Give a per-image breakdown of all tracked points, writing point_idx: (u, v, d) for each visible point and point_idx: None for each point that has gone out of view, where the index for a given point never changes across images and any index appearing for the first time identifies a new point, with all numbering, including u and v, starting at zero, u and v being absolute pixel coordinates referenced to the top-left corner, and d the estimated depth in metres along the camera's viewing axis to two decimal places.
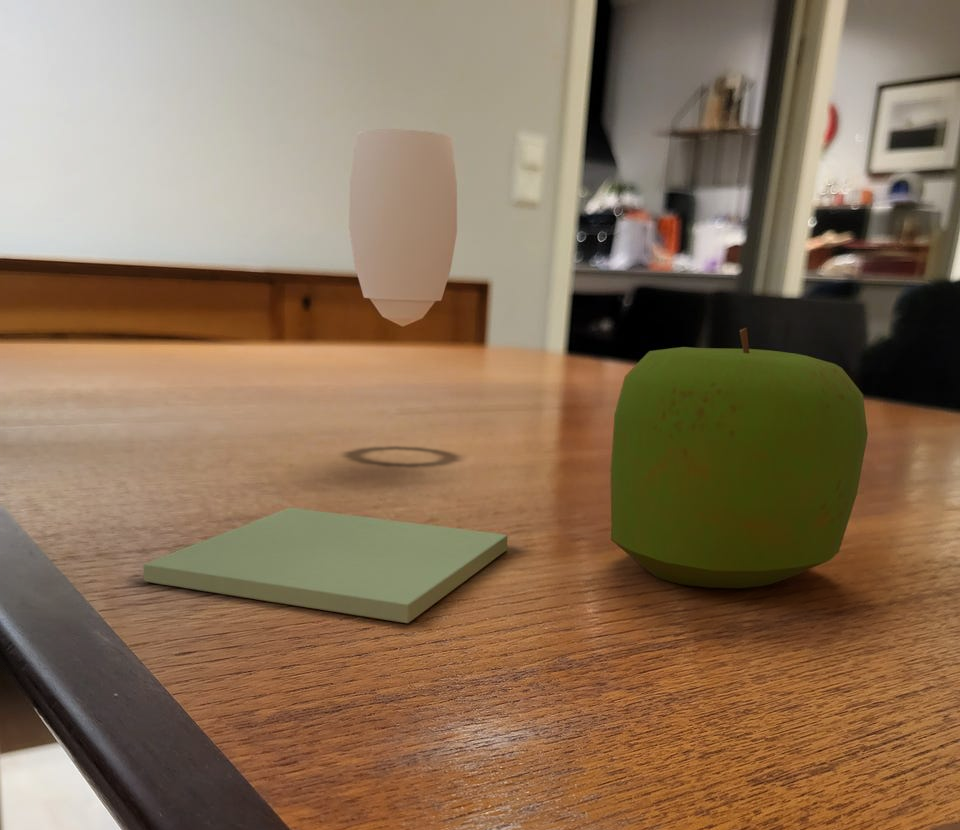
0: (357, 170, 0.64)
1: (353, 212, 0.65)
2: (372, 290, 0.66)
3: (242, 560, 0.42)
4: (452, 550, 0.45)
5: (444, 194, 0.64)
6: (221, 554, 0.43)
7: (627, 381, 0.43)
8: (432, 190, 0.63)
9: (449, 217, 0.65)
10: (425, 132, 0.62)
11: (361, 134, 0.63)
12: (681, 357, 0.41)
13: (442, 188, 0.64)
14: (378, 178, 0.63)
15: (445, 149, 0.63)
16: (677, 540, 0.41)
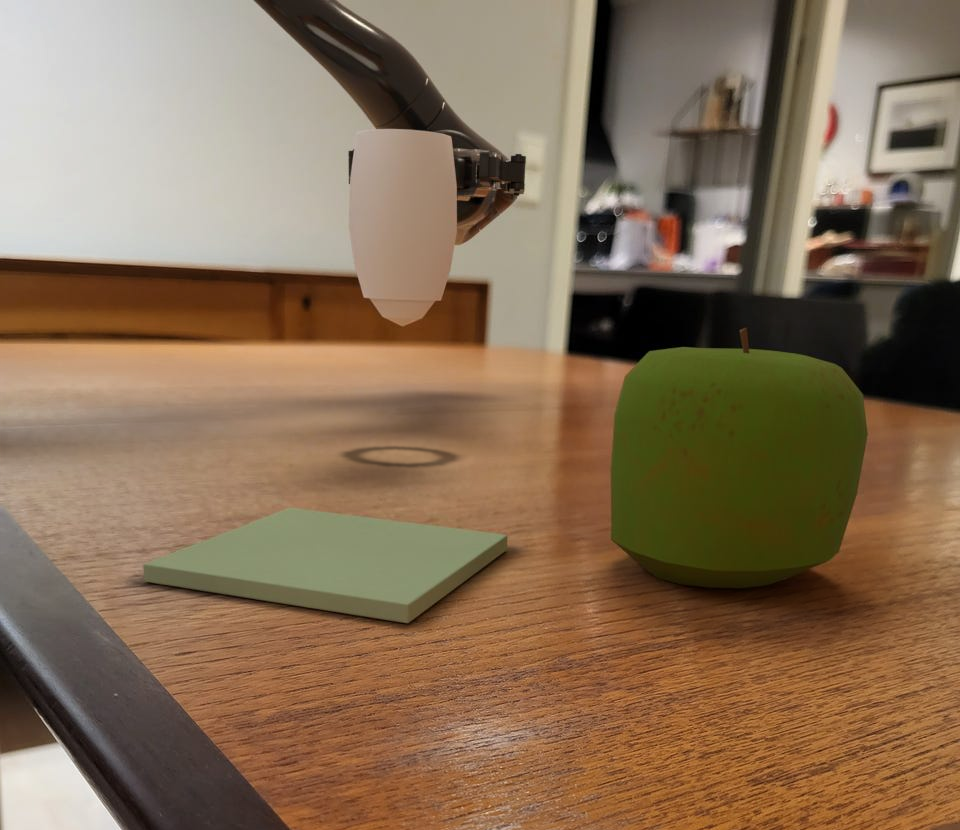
0: (357, 170, 0.64)
1: (353, 212, 0.65)
2: (372, 290, 0.66)
3: (242, 560, 0.42)
4: (452, 550, 0.45)
5: (444, 194, 0.64)
6: (221, 554, 0.43)
7: (627, 381, 0.43)
8: (432, 190, 0.63)
9: (449, 217, 0.65)
10: (425, 132, 0.62)
11: (361, 134, 0.63)
12: (681, 357, 0.41)
13: (442, 188, 0.64)
14: (378, 178, 0.63)
15: (445, 149, 0.63)
16: (677, 540, 0.41)
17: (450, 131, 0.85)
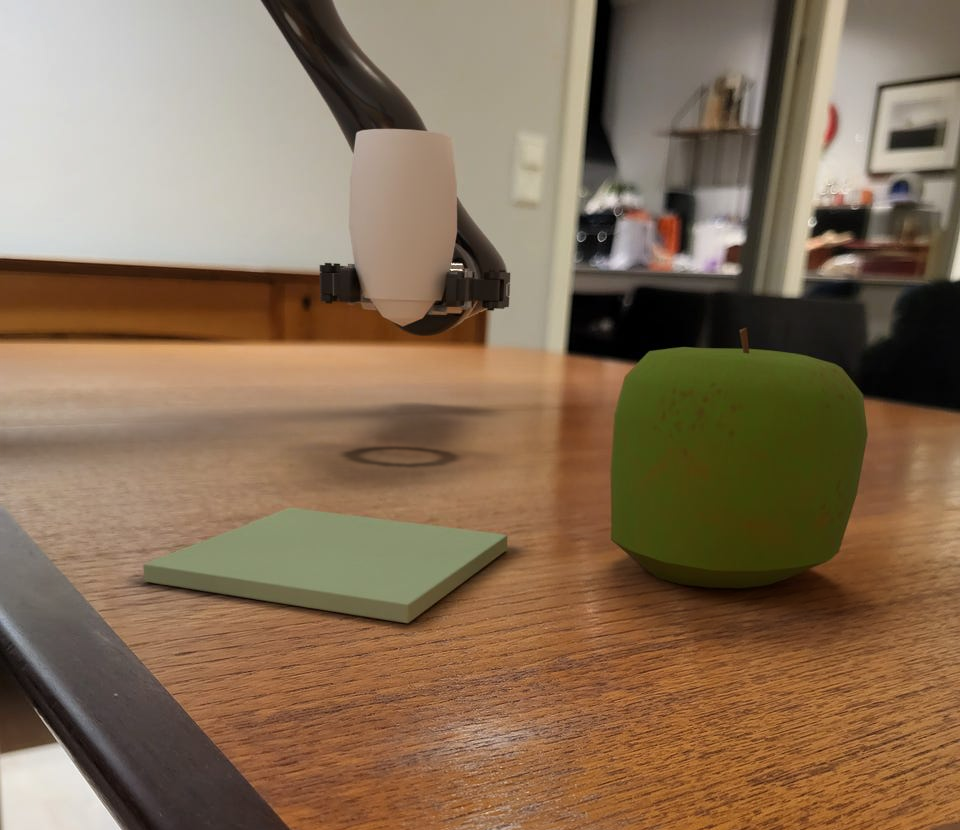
0: (357, 170, 0.64)
1: (353, 212, 0.65)
2: (372, 290, 0.66)
3: (242, 560, 0.42)
4: (452, 550, 0.45)
5: (444, 194, 0.64)
6: (221, 554, 0.43)
7: (627, 381, 0.43)
8: (432, 190, 0.63)
9: (449, 217, 0.65)
10: (425, 132, 0.62)
11: (361, 134, 0.63)
12: (681, 357, 0.41)
13: (442, 188, 0.64)
14: (378, 178, 0.63)
15: (445, 149, 0.63)
16: (677, 540, 0.41)
17: None
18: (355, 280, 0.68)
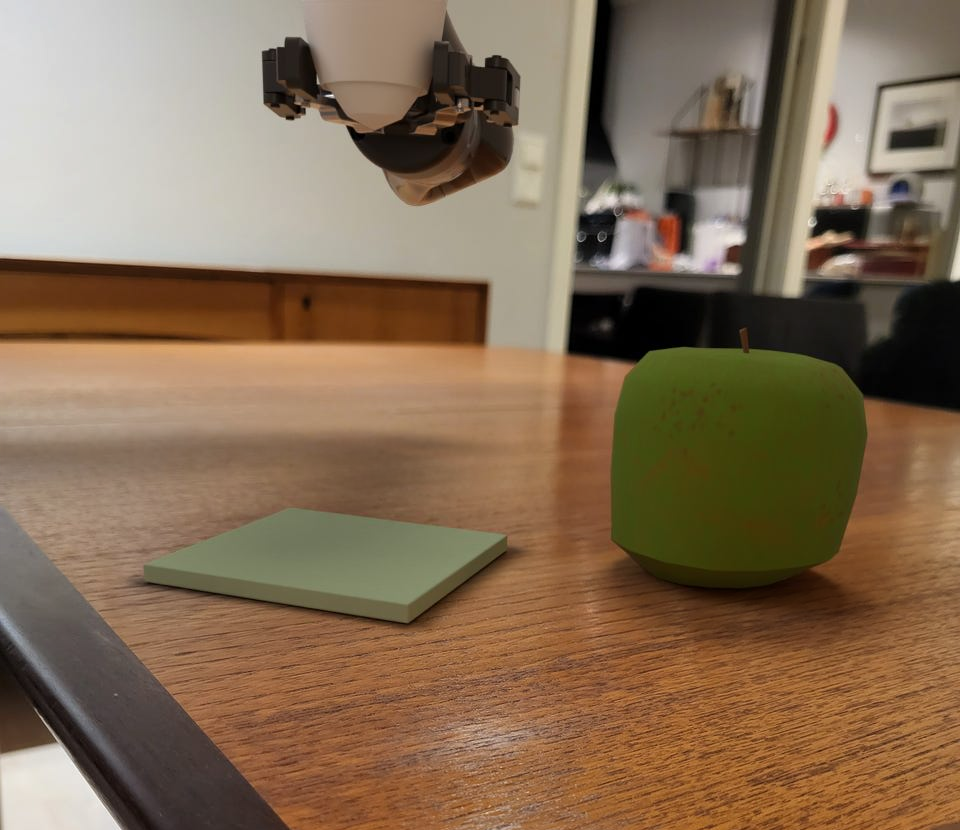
0: None
1: None
2: (331, 69, 0.47)
3: (242, 560, 0.42)
4: (452, 550, 0.45)
5: None
6: (221, 554, 0.43)
7: (627, 381, 0.43)
8: None
9: None
10: None
11: None
12: (681, 357, 0.41)
13: None
14: None
15: None
16: (677, 540, 0.41)
17: None
18: (308, 62, 0.49)
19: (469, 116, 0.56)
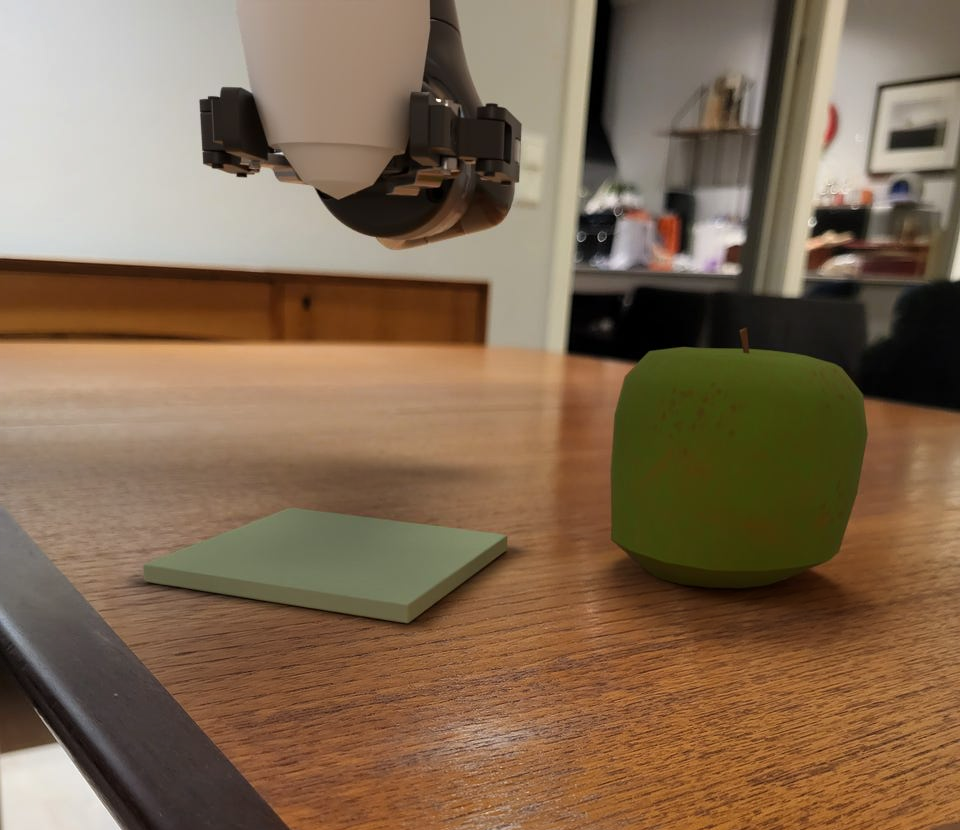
0: None
1: None
2: (280, 127, 0.37)
3: (242, 560, 0.42)
4: (452, 550, 0.45)
5: None
6: (221, 554, 0.43)
7: (627, 381, 0.43)
8: None
9: None
10: None
11: None
12: (681, 357, 0.41)
13: None
14: None
15: None
16: (677, 540, 0.41)
17: None
18: (253, 116, 0.39)
19: (459, 172, 0.46)
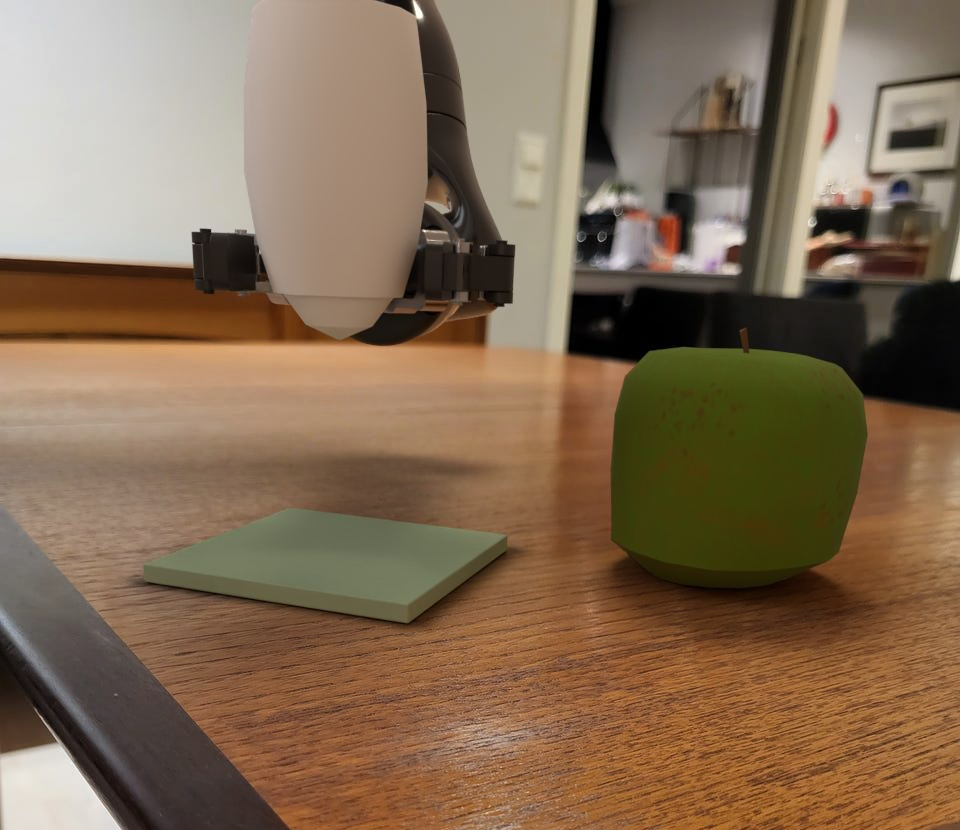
0: (252, 72, 0.37)
1: (248, 147, 0.38)
2: (284, 280, 0.39)
3: (242, 560, 0.42)
4: (452, 550, 0.45)
5: (403, 114, 0.37)
6: (221, 554, 0.43)
7: (627, 381, 0.43)
8: (381, 105, 0.36)
9: (412, 155, 0.38)
10: (368, 2, 0.36)
11: (257, 8, 0.36)
12: (681, 357, 0.41)
13: (399, 103, 0.37)
14: (286, 83, 0.36)
15: (404, 35, 0.37)
16: (677, 540, 0.41)
17: None
18: (242, 255, 0.41)
19: None
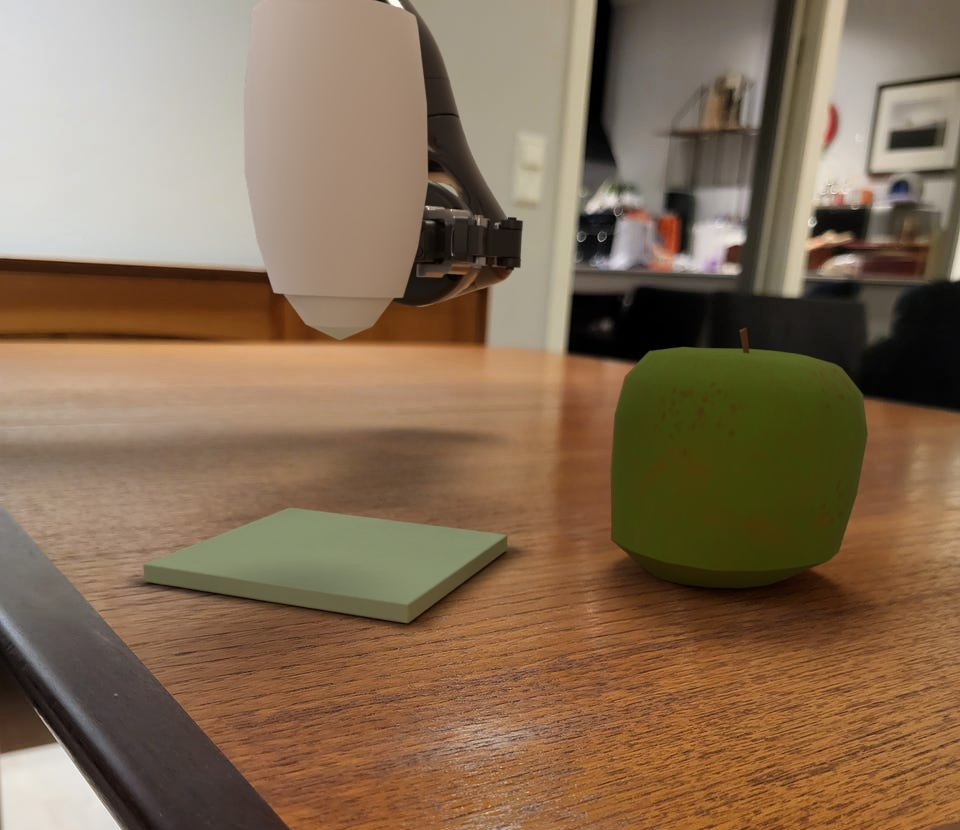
0: (252, 72, 0.37)
1: (249, 147, 0.38)
2: (284, 280, 0.39)
3: (242, 560, 0.42)
4: (452, 550, 0.45)
5: (403, 114, 0.37)
6: (221, 554, 0.43)
7: (627, 381, 0.43)
8: (381, 105, 0.36)
9: (413, 155, 0.38)
10: (368, 2, 0.36)
11: (258, 8, 0.36)
12: (681, 357, 0.41)
13: (399, 103, 0.37)
14: (286, 83, 0.36)
15: (404, 35, 0.37)
16: (677, 540, 0.41)
17: None
18: None
19: None
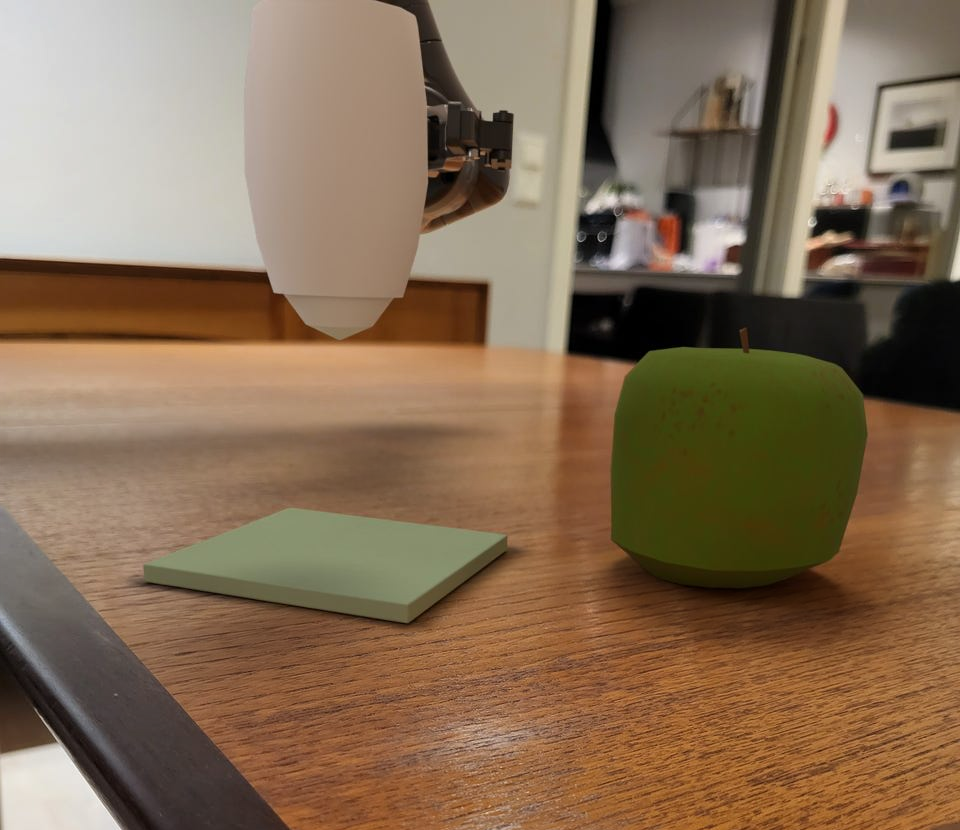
0: (252, 72, 0.37)
1: (249, 147, 0.38)
2: (284, 280, 0.39)
3: (242, 560, 0.42)
4: (452, 550, 0.45)
5: (403, 114, 0.37)
6: (221, 554, 0.43)
7: (627, 381, 0.43)
8: (381, 105, 0.36)
9: (413, 155, 0.38)
10: (368, 2, 0.36)
11: (258, 8, 0.36)
12: (681, 357, 0.41)
13: (399, 103, 0.37)
14: (286, 83, 0.36)
15: (404, 35, 0.37)
16: (677, 540, 0.41)
17: None
18: None
19: None
